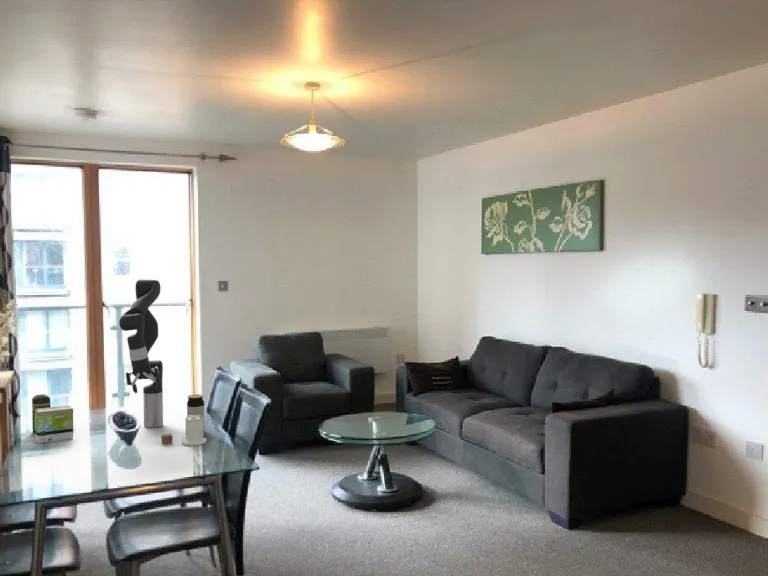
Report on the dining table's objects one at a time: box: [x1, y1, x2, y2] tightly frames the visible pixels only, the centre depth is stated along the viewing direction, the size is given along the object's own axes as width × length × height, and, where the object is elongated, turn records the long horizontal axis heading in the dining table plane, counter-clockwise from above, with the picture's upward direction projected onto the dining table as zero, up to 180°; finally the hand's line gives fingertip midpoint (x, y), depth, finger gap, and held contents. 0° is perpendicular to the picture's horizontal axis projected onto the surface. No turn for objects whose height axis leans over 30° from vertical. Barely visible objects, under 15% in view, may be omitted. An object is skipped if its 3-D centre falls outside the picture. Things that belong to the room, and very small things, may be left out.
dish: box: [180, 437, 207, 447], centre depth 298 cm, size 11×11×1 cm
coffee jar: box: [31, 394, 52, 435], centre depth 318 cm, size 10×8×19 cm
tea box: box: [34, 404, 74, 444], centre depth 306 cm, size 15×10×15 cm, turn 126°
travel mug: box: [186, 393, 206, 432], centre depth 317 cm, size 8×8×18 cm
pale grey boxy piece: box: [185, 416, 202, 443], centre depth 298 cm, size 6×6×10 cm
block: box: [161, 433, 173, 446], centre depth 297 cm, size 4×4×4 cm
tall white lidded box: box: [188, 414, 205, 438], centre depth 309 cm, size 6×6×10 cm
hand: (145, 391), depth 299 cm, fingers open, 8 cm apart
